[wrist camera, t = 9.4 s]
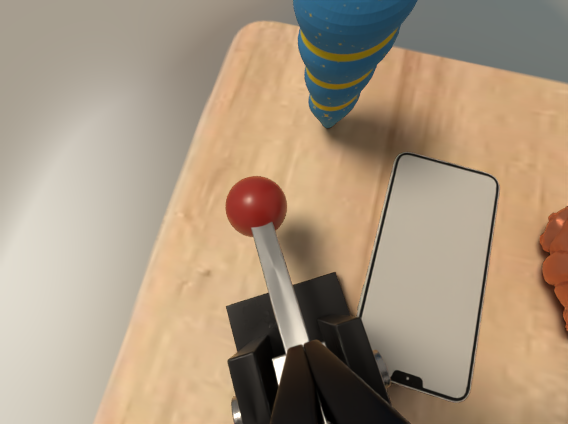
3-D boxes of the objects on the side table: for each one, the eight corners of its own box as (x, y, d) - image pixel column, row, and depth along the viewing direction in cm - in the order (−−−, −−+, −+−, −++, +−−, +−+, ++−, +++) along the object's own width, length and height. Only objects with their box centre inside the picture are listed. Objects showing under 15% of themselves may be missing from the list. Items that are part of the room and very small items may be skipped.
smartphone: (502, 176, 24) (469, 408, 20) (497, 180, 25) (463, 405, 21) (397, 148, 25) (344, 366, 21) (394, 152, 25) (343, 365, 21)
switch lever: (228, 207, 20) (213, 173, 18) (280, 191, 21) (274, 156, 18) (285, 444, 14) (276, 449, 11) (360, 419, 14) (368, 417, 12)
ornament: (374, 115, 26) (483, -135, 11) (341, 171, 25) (416, -28, 10) (312, 85, 27) (341, -185, 12) (278, 138, 25) (264, -91, 11)
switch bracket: (228, 306, 22) (184, 303, 13) (333, 273, 23) (364, 247, 13) (268, 463, 20) (250, 602, 10) (384, 423, 20) (466, 521, 11)
